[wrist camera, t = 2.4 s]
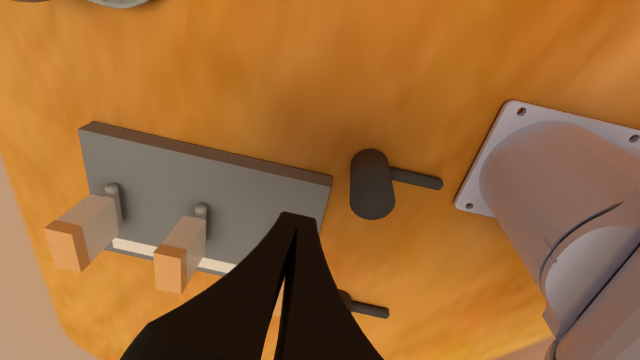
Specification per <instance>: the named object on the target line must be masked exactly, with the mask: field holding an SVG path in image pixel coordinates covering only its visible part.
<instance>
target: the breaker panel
mask: <svg viewBox="0 0 640 360" xmlns="http://www.w3.org/2000/svg"><path fill="white" fill-rule="evenodd" d="M78 133H79V138H80V143H81V148H82V154H83V159H84V164H85V169H86V174H87V179H88V185H89V190H90V194H93V195H97V196H102V197H103V196H105V195H106V194H105V186H106V185H107V184H117V185H118V191H119V198H120V206H121V213H122V220H123V226H122V227H121V228H119V229H118V233H119V234H118V235H117V236H116V237H115V238H114V239H113V240H112V241H111V242H110V243H109V244H108V246H107V247H106V248H105V249H104V250H108V251H112V252H117V253H121V254H126V255H130V256H135V257H139V258H144V259H148V260H153V261H154V257H153V252H154V251H155V250H156V249H157V247H158V246H159V245H160V244H161V243H162V242H163V240H164V239H165V238H166V237H167V235H168V234H169V233H170V231H171V230H172V229H173V228H174V226H175V225H176V224H177V223H178V221H179V220H180V219H181V217H182V216H183V215H185V216H190V217H194V216H195V206H196V205H197V204H205V205H206V206H207V214H206V244H205V254H204V256H203V258H202V260H201V261H200V263H199V265H198V266H197V268H196V270H197V271H202V272H206V273H211V274H215V275H220V276H225V275H226V274H227V273H228V272H230V271H231V270H232V269H233V268H234V267H235V266H236V265H238V264H239V263H240V262H241V261H242V260H243V259H244V258H245V257H246V256H247V255H248V254H249V253H250V252H251V251H252V250H253V249H254V248H255V247H256V246H257V245H258V244H259V242H260V241H261V240H262V239H263V238H264V236H265V235H266V234H267V233H268V232H269V230H270V229H271V228H272V226H273V225H274V223H275V222H276V220H277V219H278V217H279V215H280V213H281V212H283V211H285V212H290V213H294V214H299V215H304V216H308V217H313V218H315V219H316V221H317V229H318V234H319V231H320V227H321V223H322V219H323V216H324V212H325V208H326V205H327V201H328V197H329V193H330V190H331V184H332V176H328V175H324V174H319V173H315V172H311V171H306V170H302V169H298V168H293V167H289V166H285V165H280V164H276V163H272V162H267V161H263V160H259V159H254V158H250V157H246V156H241V155H237V154H233V153H228V152H224V151H220V150H215V149H211V148H207V147H203V146H198V145H194V144H190V143H185V142H181V141H177V140H172V139H168V138H164V137H159V136H155V135H151V134H146V133H142V132H138V131H133V130H129V129H125V128H120V127H116V126H112V125H107V124H103V123H99V122H94V121H93V122H91V123H89V124H87V125H85V126H83V127H81V128H79V129H78Z"/></svg>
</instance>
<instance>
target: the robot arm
mask: <svg viewBox="0 0 640 360" xmlns="http://www.w3.org/2000/svg"><path fill="white" fill-rule="evenodd" d="M519 108H523V111H522V112H521V113H520V114H517V110H518V109H519ZM633 135H635V136H634V138H632V139H631V140H629V139H630V137H632V136H633ZM468 203H472V204H471V205H470V206H466V205H467V204H468ZM454 205H455V207H456V208H457V209H459V210H462V211H467V212H471V213H475V214H480V215H484V216H488V217H493V218H496V220H497V221H498V223H499V224H500V226H501V228H502V229H503V231H504V233H505V234H506V236H507V237H508V239H509V241H510V242H511V244H512V245H513V247H514V249H515V250H516V252H517V253H518V255H519V257H520V258H521V260H522V261H523V263H524V265H525V266H526V268H527V269H528V271H529V273H530V274H531V276H532V277H533V279H534V281H535V282H536V284H537V285H538V287H539V289H540V290H541V292H542V293H543V295H544V297H545V300H546V309H545V311H544V313H543V315H542V316H543V317H544V319H545V321H546V323H547V324H548V326H549V328H550V330H551V331H552V333H553V335H554V336H555V338H556V340H554V341H553V342H552V344H551V345H550V346H549V348H548V350H547V352H546V354H545V360H640V130H638V129H634V128H630V127H626V126H622V125H617V124H613V123H609V122H605V121H601V120H596V119H592V118H588V117H584V116H580V115H576V114H571V113H567V112H563V111H559V110H555V109H550V108H546V107H542V106H538V105H534V104H530V103H525V102H521V101H517V100H510V101H508V102H506V103H505V104H504V105H503V107H502V109H501V111H500V113H499V115H498V117H497V119H496V121H495V122H494V124H493V126H492V128H491V130H490V132H489V134H488V136H487V138H486V140H485V142H484V144H483V146H482V148H481V150H480V152H479V154H478V155H477V157H476V159H475V161H474V163H473V165H472V167H471V169H470V171H469V173H468V175H467V177H466V179H465V181H464V183H463V185H462V187H461V188H460V190H459V192H458V194H457V196H456V198H455V200H454ZM284 278H285V281H284ZM283 281H284V290H283V299H282V308H281V317H280V326H279V333H278V340H277V345H276V350H275V355H274V360H384V359H383V358H382V357H381V356H380V354H379V353H378V352H377V351H376V350H375V348H374V347H373V346H372V344H371V343H370V341H369V340H368V339H367V337H366V336H365V334H364V333H363V332H362V330H361V328H360V327H359V325H358V324H357V322H356V321H355V319H354V317H353V316H352V314H351V313H350V311H349V309H348V308H347V306H346V304H345V302H344V300H343V298H342V297H341V295H340V293H339V291H338V289H337V286H336V284H335V282H334V280H333V277H332V275H331V272H330V270H329V267H328V265H327V262H326V259H325V256H324V253H323V250H322V246H321V243H320V239H319V234H318V229H317V221H316V219H315V218H313V217H308V216H304V215H299V214H294V213H290V212H285V211H283V212H281V213H280V215H279V217H278V219H277V220H276V222H275V223H274V225H273V226H272V228H271V229H270V230H269V232H268V233H267V234H266V235H265V236H264V238H263V239H262V240H261V241H260V242H259V244H258V245H257V246H256V247H255V248H254V249H253V250H252V251H251V252H250V253H249V254H248V255H247V256H246V257H245V258H244V259H243V260H242V261H241V262H240V263H239V264H238V265H236V266H235V267H234V268H233V269H232V270H231V271H230V272H228V273H227V274H226V275H225V276H223V277H222V278H221V279H219V280H218V281H217V282H216V283H214V284H213V285H211V286H210V287H209V288H207V289H206V290H204V291H203V292H201V293H200V294H198V295H197V296H195V297H194V298H192V299H190V300H189V301H187V302H186V303H184V304H183V305H181V306H179V307H177V308H176V309H174V310H172V311H170V312H168V313H166V314H165V315H163V316H161V317H159V318H157V319H155V320H153V321H152V322H150V323H148V324H147V325H146V326H145V327H144V329H143V330H142V331H141V332H140V333H139V334H138V335H137V337H136V338H135V339H134V341H133V342H132V343H131V344H130V346H129V347H128V348H127V350H126V351H125V352H124V354H123V356H122V357H121V359H120V360H261V355H262V351H263V347H264V342H265V338H266V335H267V331H268V327H269V324H270V321H271V318H272V315H273V312H274V309H275V306H276V303H277V299H278V296H279V293H280V290H281V287H282V284H283Z"/></svg>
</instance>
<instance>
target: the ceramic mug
mask: <svg viewBox="0 0 640 360" xmlns="http://www.w3.org/2000/svg"><path fill="white" fill-rule="evenodd" d="M13 1H18V2H43V1H49V0H13ZM87 1H90V2H94V3H96V4H99V5H102V6H106V7H113V8H121V9H125V8H130V7H135V6H139V5H141V4H144V3H146V2H147V1H149V0H87Z"/></svg>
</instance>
